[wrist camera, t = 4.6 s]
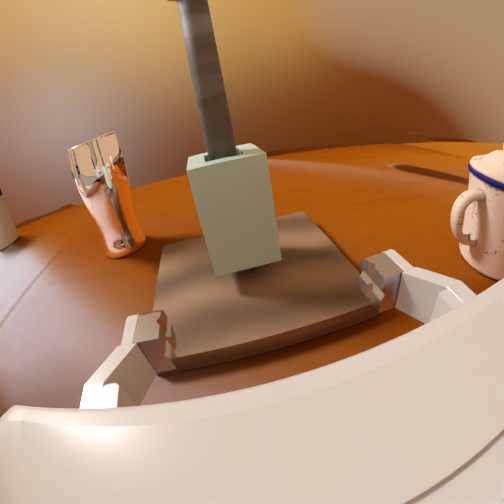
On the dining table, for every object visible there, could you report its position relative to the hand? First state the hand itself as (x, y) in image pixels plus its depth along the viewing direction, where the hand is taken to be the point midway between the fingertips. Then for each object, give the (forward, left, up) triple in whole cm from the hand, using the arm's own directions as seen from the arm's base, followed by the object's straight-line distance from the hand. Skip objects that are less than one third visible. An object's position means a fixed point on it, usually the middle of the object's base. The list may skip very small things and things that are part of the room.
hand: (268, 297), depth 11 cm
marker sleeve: (+9, +7, -4) cm, 12 cm away
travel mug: (+3, +80, -8) cm, 80 cm away
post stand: (+9, +7, -7) cm, 13 cm away
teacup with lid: (+17, -15, -8) cm, 24 cm away
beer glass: (+11, +27, -8) cm, 30 cm away
